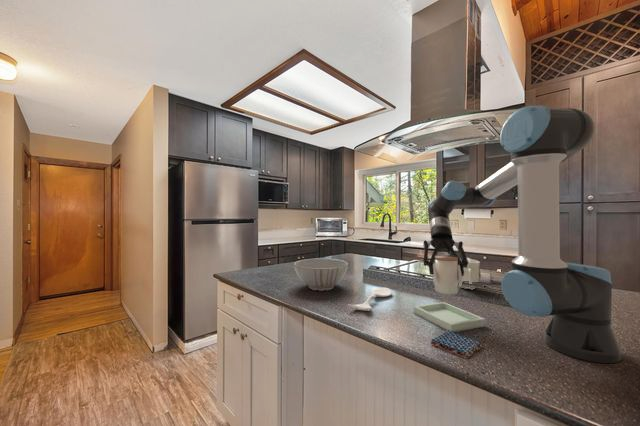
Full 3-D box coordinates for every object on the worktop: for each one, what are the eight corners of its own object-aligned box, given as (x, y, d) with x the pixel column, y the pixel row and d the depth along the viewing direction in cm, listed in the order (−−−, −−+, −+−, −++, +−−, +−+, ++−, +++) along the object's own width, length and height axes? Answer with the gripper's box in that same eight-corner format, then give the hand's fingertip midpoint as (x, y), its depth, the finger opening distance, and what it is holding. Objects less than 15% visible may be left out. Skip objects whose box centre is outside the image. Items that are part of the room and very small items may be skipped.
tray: (485, 326, 92) (485, 318, 92) (451, 332, 87) (451, 324, 87) (443, 308, 108) (443, 301, 108) (413, 313, 104) (413, 306, 104)
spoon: (346, 313, 105) (346, 303, 105) (376, 291, 133) (376, 284, 132) (369, 317, 100) (369, 308, 100) (395, 294, 128) (394, 286, 128)
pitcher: (457, 293, 128) (457, 263, 128) (453, 283, 145) (453, 256, 145) (484, 295, 125) (484, 264, 125) (477, 285, 142) (477, 257, 141)
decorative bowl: (330, 299, 121) (330, 271, 121) (282, 289, 135) (282, 264, 135) (357, 285, 143) (357, 261, 143) (314, 278, 158) (313, 256, 158)
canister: (462, 292, 96) (463, 257, 96) (445, 295, 93) (445, 259, 93) (446, 287, 103) (446, 254, 103) (430, 289, 100) (430, 255, 100)
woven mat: (428, 346, 80) (428, 338, 80) (446, 335, 86) (446, 328, 86) (466, 361, 72) (466, 353, 72) (483, 348, 78) (483, 341, 78)
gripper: (467, 237, 110) (478, 290, 95) (413, 236, 115) (416, 286, 100) (470, 225, 105) (483, 278, 89) (414, 224, 110) (417, 275, 95)
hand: (447, 282), depth 95 cm, fingers closed on canister, 7 cm apart
